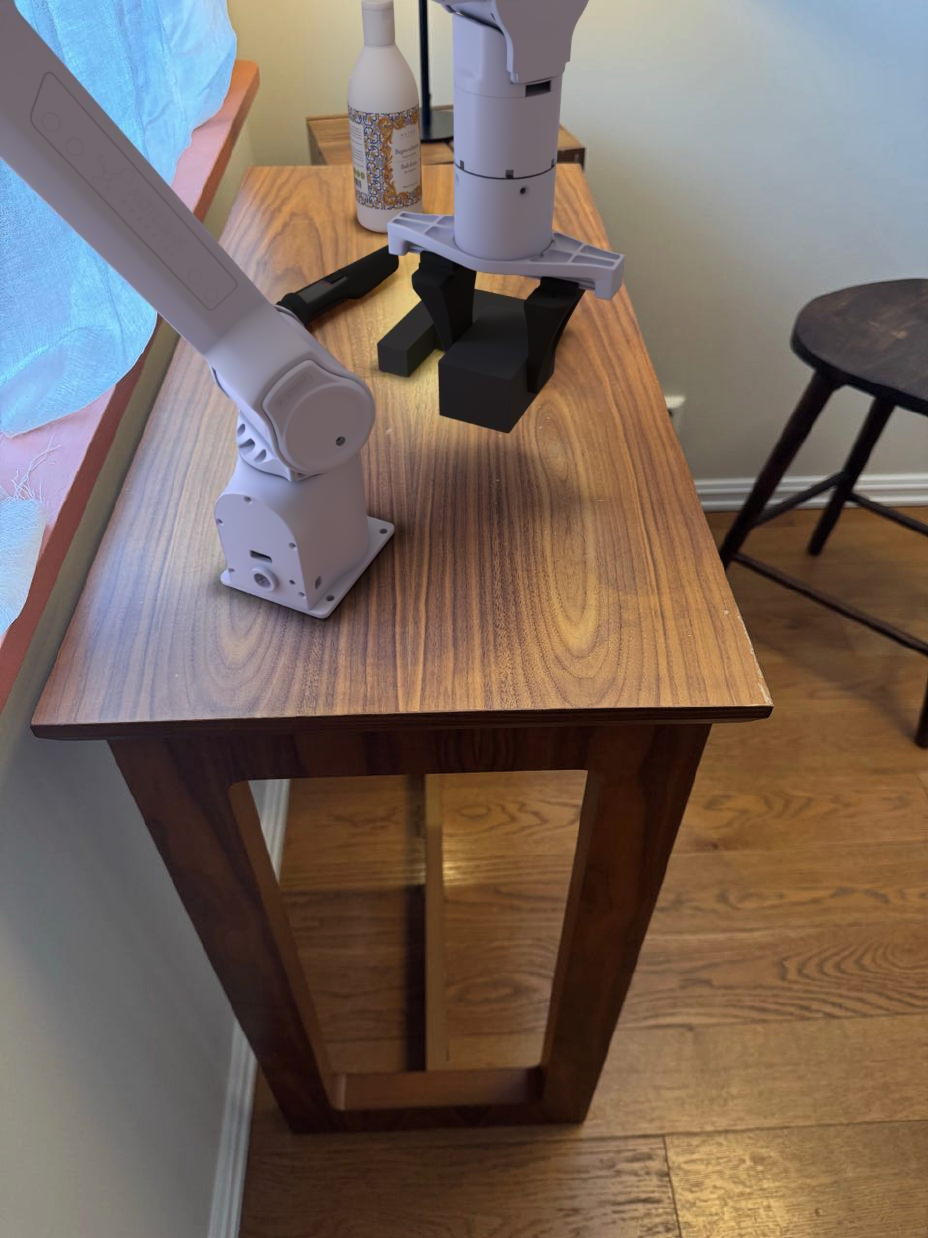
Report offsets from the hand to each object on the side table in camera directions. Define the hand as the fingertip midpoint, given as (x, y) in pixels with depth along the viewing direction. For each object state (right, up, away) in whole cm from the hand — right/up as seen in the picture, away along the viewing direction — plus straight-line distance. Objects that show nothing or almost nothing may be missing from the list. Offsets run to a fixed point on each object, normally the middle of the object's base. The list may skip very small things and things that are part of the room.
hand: (499, 375), depth 60 cm
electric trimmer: (-14, +13, +24) cm, 31 cm away
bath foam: (-10, +26, +37) cm, 46 cm away
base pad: (-2, +7, +18) cm, 19 cm away
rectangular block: (0, -1, +1) cm, 1 cm away
